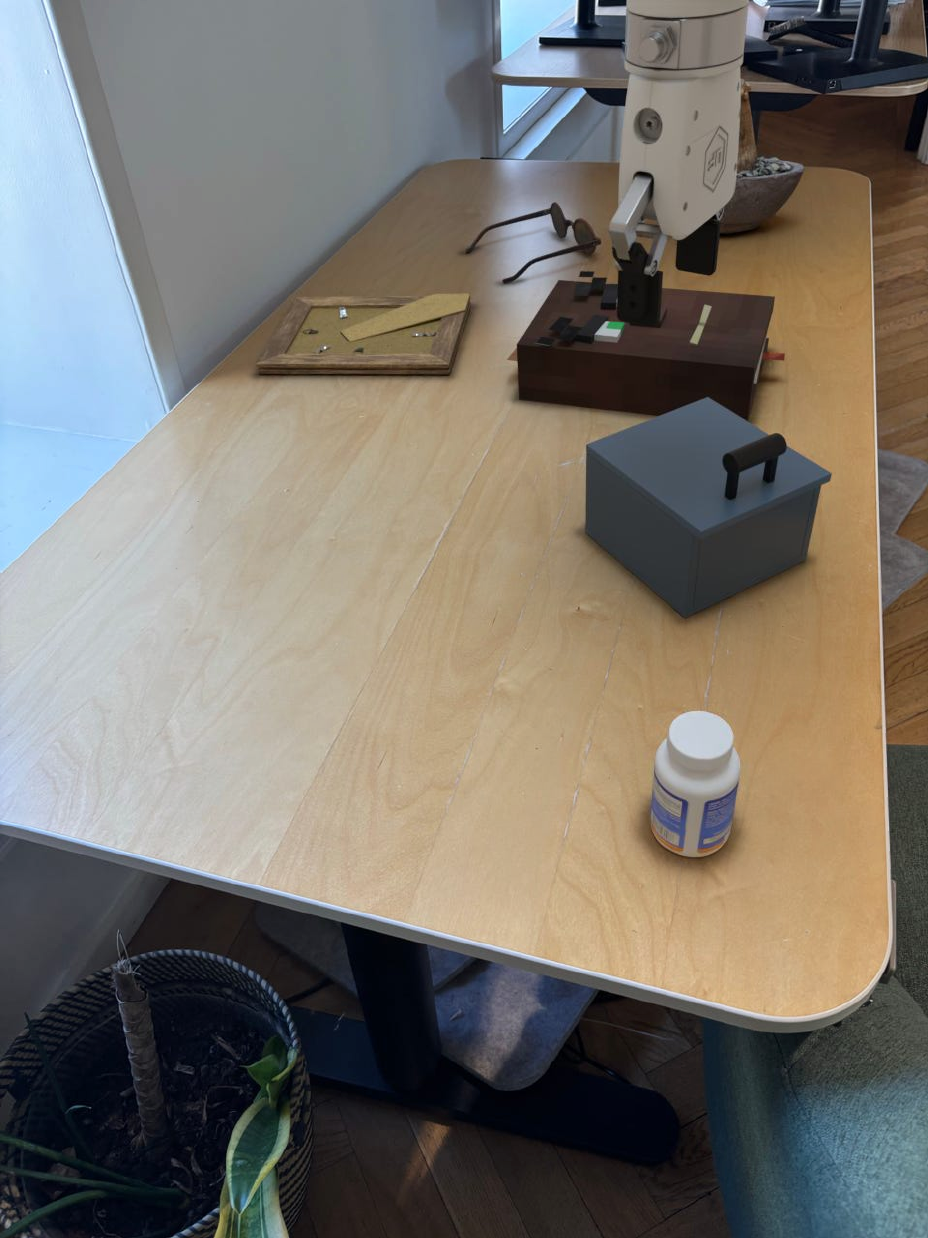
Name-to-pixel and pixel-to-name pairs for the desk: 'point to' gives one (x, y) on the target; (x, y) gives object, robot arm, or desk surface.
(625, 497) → the grey open box
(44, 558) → the desk surface
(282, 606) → the desk surface
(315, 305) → the picture frame
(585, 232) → the eyeglasses
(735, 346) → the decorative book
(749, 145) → the planter
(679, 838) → the pill bottle
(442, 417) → the desk surface
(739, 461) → the lid
